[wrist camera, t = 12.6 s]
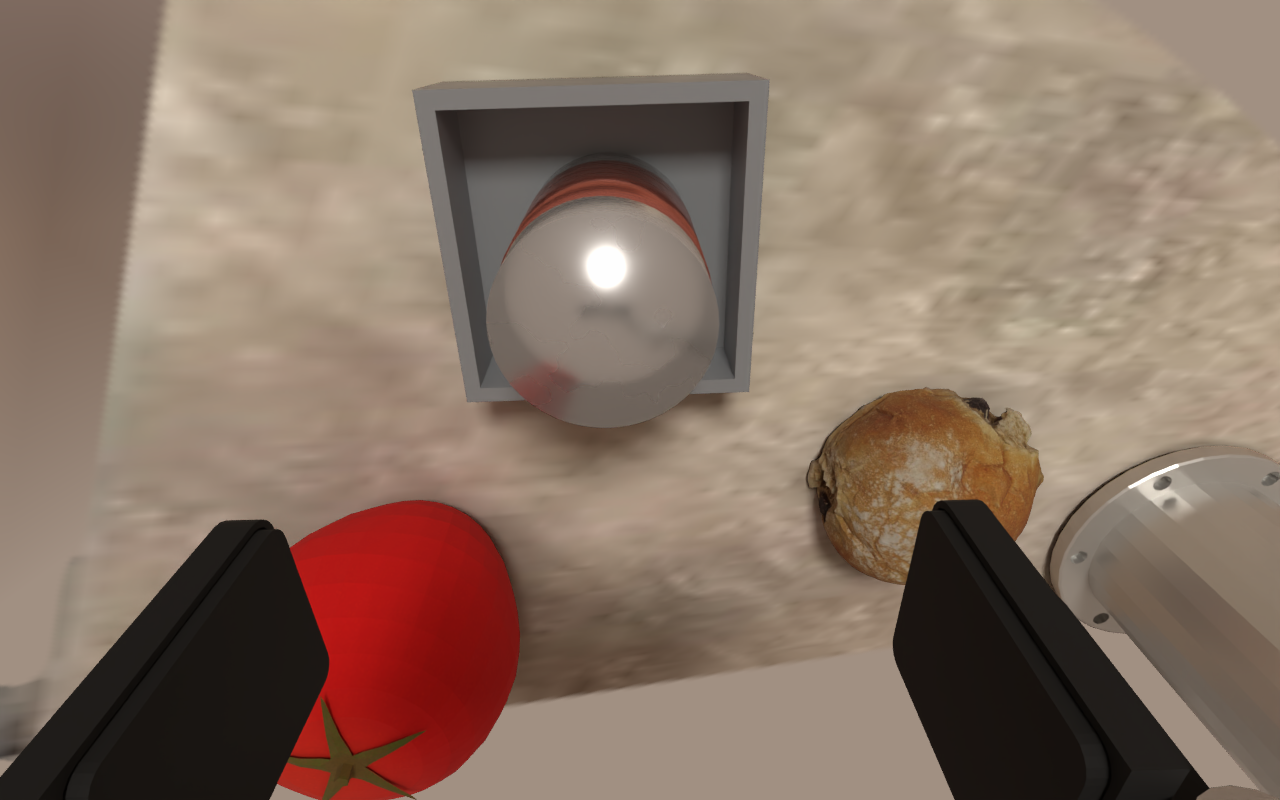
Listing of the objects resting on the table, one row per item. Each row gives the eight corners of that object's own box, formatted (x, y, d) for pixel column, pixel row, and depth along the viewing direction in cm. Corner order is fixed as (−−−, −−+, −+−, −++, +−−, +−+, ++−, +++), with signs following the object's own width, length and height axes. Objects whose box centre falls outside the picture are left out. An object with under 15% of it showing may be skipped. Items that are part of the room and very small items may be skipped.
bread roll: (807, 368, 34) (773, 466, 28) (1035, 348, 29) (1050, 463, 23) (841, 507, 39) (818, 617, 33) (1043, 511, 34) (1057, 641, 28)
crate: (747, 72, 24) (769, 79, 21) (733, 349, 30) (749, 391, 26) (441, 81, 24) (412, 90, 20) (484, 358, 29) (467, 402, 26)
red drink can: (691, 147, 24) (724, 205, 16) (691, 311, 27) (718, 424, 20) (516, 154, 24) (465, 216, 16) (536, 317, 27) (502, 433, 20)
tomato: (573, 513, 34) (552, 743, 23) (483, 650, 39) (431, 894, 28) (336, 415, 31) (180, 629, 20) (271, 578, 35) (115, 823, 24)
